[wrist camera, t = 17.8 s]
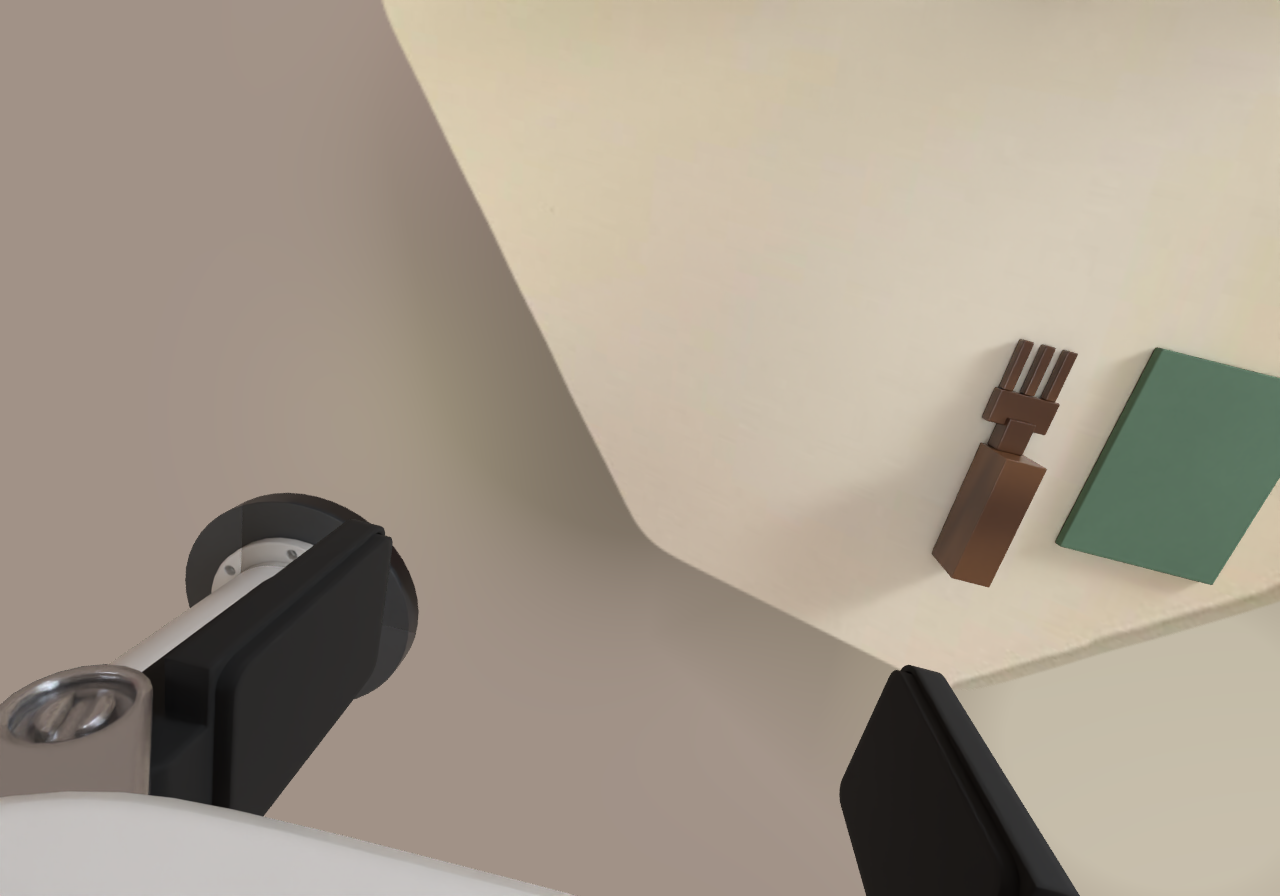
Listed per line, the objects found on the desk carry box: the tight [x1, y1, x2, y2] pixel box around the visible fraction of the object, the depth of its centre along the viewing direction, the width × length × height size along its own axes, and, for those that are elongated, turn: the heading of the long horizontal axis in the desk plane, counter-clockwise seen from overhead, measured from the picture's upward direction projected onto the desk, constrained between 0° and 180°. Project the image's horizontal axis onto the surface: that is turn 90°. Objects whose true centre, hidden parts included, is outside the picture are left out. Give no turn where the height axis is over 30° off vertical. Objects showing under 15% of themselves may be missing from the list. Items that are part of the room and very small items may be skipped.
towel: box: [1056, 348, 1280, 585], centre depth 36 cm, size 13×10×1 cm
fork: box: [932, 339, 1078, 587], centre depth 36 cm, size 14×4×3 cm, turn 166°
